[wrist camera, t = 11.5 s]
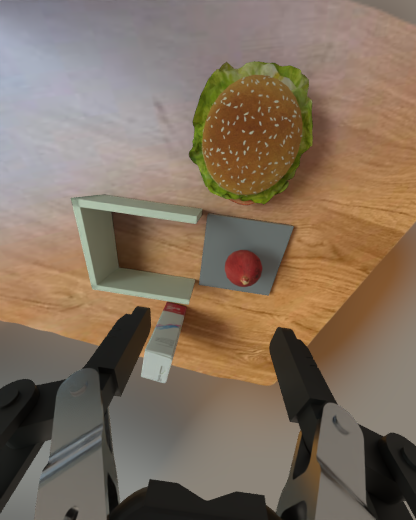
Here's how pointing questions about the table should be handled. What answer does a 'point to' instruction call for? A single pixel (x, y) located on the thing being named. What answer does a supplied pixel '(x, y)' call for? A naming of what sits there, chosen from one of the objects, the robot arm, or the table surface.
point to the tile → (242, 238)
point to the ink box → (163, 343)
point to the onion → (243, 268)
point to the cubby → (105, 254)
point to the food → (251, 130)
